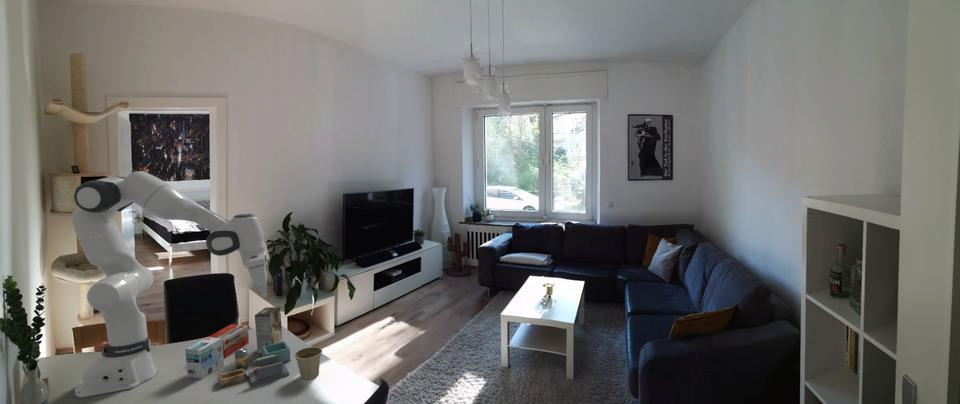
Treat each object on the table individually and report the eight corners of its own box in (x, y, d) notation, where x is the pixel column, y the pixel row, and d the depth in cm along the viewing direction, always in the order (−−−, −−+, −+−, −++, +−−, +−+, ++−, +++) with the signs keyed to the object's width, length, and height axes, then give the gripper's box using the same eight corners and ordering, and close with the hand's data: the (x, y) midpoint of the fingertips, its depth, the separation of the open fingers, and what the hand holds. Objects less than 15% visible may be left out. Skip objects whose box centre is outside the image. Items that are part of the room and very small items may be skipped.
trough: (220, 387, 155) (220, 380, 155) (219, 381, 159) (218, 374, 159) (246, 380, 160) (246, 373, 159) (244, 374, 164) (244, 368, 163)
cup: (267, 366, 169) (266, 354, 169) (263, 358, 176) (262, 346, 175) (290, 360, 174) (289, 348, 174) (285, 352, 181) (284, 341, 180)
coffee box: (268, 343, 189) (265, 306, 188) (283, 343, 189) (280, 306, 187) (257, 353, 180) (254, 315, 178) (272, 353, 180) (270, 315, 178)
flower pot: (290, 375, 163) (289, 352, 162) (315, 366, 170) (314, 344, 169) (303, 384, 156) (301, 361, 155) (328, 374, 163) (327, 352, 162)
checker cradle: (252, 385, 156) (251, 370, 156) (248, 374, 164) (247, 360, 163) (289, 375, 163) (288, 360, 163) (283, 365, 170) (282, 351, 170)
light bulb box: (202, 379, 161) (200, 350, 160) (186, 377, 162) (183, 348, 161) (225, 365, 171) (222, 337, 170) (209, 363, 173) (207, 336, 171)
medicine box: (224, 359, 176) (223, 339, 175) (205, 358, 177) (204, 338, 176) (249, 343, 191) (248, 324, 190) (232, 341, 192) (231, 323, 191)
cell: (236, 372, 165) (235, 352, 164) (235, 368, 169) (233, 348, 168) (249, 369, 168) (247, 349, 167) (247, 365, 171) (245, 345, 170)
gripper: (247, 255, 172) (256, 289, 174) (244, 265, 153) (254, 303, 155) (265, 250, 174) (274, 284, 176) (264, 259, 156) (274, 297, 158)
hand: (265, 293), depth 165 cm, fingers open, 8 cm apart
